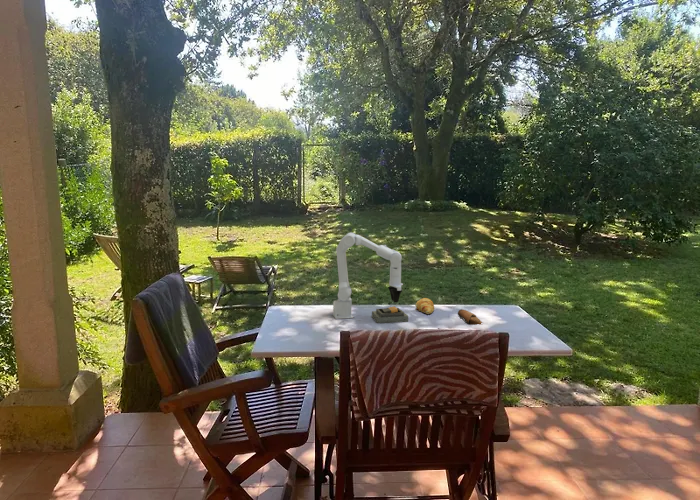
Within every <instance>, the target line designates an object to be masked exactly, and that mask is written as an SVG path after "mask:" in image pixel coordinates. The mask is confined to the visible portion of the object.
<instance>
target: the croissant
mask: <svg viewBox="0 0 700 500" xmlns="http://www.w3.org/2000/svg"><path fill="white" fill-rule="evenodd" d="M415 308H416V309H417V311H419V312H421V313H423V314H426V315H430V314H432V313H433V312H435V304H434V302H433V301H432V299H430V298H428V297H423V298H419V300H418V301H416V303H415Z"/></svg>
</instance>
